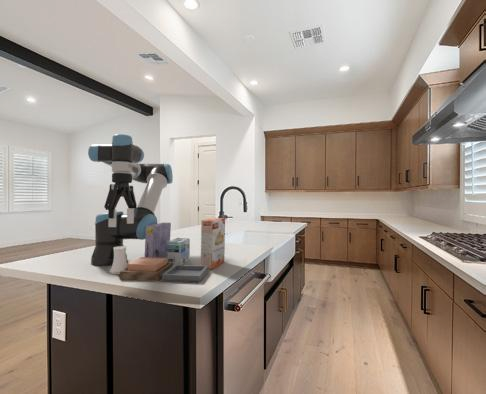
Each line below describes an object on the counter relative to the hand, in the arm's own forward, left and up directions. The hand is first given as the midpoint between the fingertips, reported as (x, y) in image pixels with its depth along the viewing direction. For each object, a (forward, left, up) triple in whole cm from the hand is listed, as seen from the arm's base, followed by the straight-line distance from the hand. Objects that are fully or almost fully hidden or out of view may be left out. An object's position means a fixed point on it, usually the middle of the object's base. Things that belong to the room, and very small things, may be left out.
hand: (121, 225), depth 109 cm
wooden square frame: (+12, -2, -19) cm, 23 cm away
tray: (+28, -3, -19) cm, 34 cm away
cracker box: (+35, +14, -19) cm, 42 cm away
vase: (-1, 0, -19) cm, 19 cm away
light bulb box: (+18, +17, -19) cm, 32 cm away
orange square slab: (+12, -2, -16) cm, 20 cm away
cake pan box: (+7, +19, -19) cm, 28 cm away
